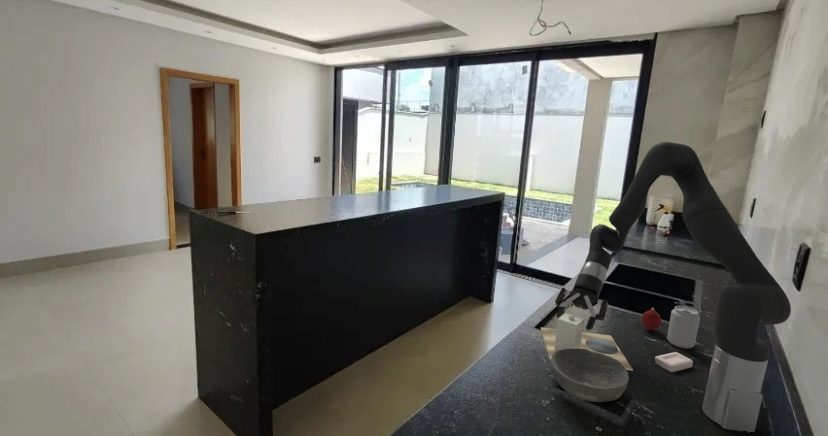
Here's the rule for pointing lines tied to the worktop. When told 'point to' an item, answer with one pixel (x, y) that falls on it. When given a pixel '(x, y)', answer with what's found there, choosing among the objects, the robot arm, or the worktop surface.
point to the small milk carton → (568, 332)
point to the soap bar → (673, 362)
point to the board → (589, 345)
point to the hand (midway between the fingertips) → (572, 324)
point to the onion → (651, 319)
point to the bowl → (589, 374)
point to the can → (683, 327)
